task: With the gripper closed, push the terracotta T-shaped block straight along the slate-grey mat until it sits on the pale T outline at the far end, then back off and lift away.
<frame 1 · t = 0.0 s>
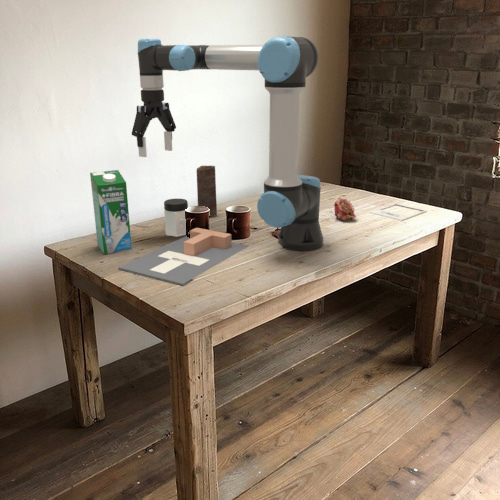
hand: (156, 153, 186), 28 cm above the table, tool pointing down, fingers open, 13 cm apart
candle: (207, 217, 212), on the table
jar: (177, 234, 192), on the table
flower: (344, 220, 208), on the table
mat: (187, 257, 171), on the table
photo frame: (398, 214, 217), on the table
milk carton: (114, 248, 179), on the table
t block: (210, 243, 181), point 1 cm above the table, touching mat
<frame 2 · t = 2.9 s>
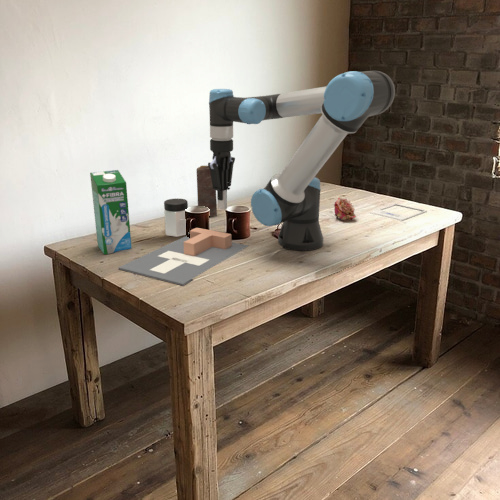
hand: (222, 208, 184), 11 cm above the table, tool pointing down, fingers closed
nothing on the table moved.
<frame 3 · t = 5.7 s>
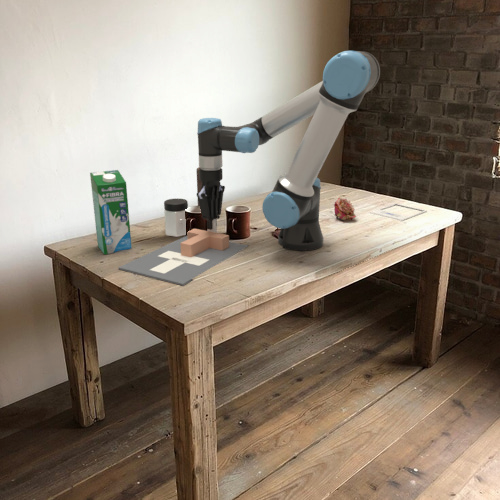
hand: (212, 237, 182), 2 cm above the table, tool pointing down, fingers closed
t block: (208, 244, 180), point 1 cm above the table, touching mat
everything else where it was.
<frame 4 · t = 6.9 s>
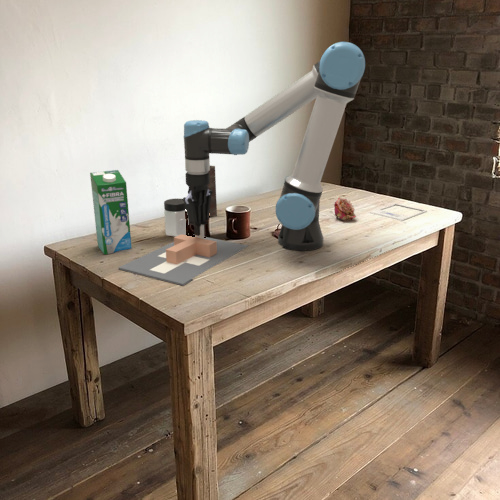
hand: (199, 243, 176), 2 cm above the table, tool pointing down, fingers closed
t block: (195, 251, 174), point 1 cm above the table, touching gripper
everything else where it was.
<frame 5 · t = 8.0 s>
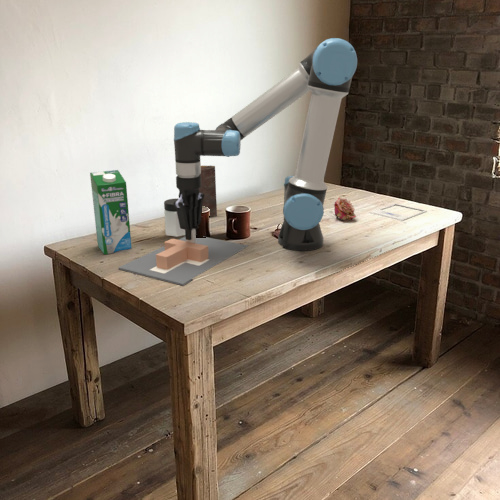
hand: (191, 248, 172), 2 cm above the table, tool pointing down, fingers closed
t block: (186, 256, 170), point 1 cm above the table, touching gripper, mat
everything else where it was.
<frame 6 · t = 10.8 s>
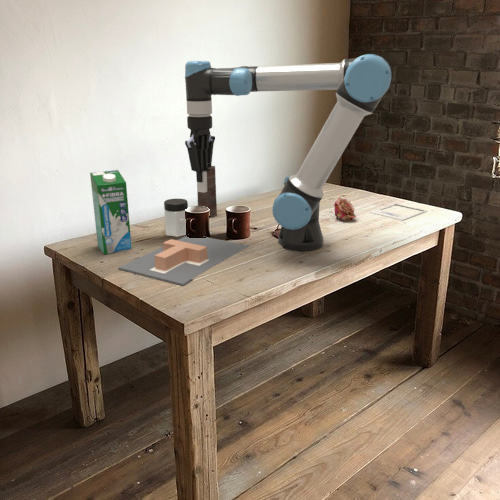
hand: (202, 191, 171), 19 cm above the table, tool pointing down, fingers closed
t block: (185, 256, 170), point 1 cm above the table, touching mat
everything else where it was.
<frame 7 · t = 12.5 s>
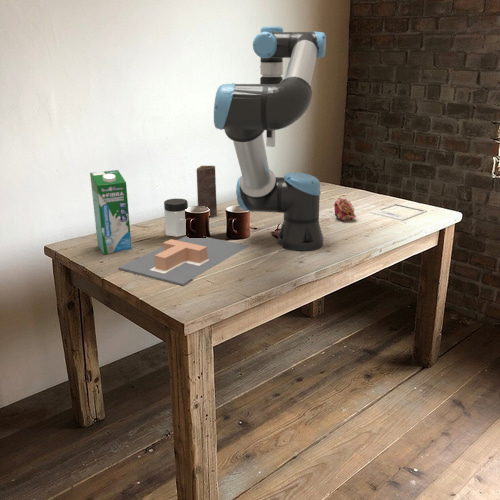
hand: (270, 146, 191), 29 cm above the table, tool pointing down, fingers closed
nothing on the table moved.
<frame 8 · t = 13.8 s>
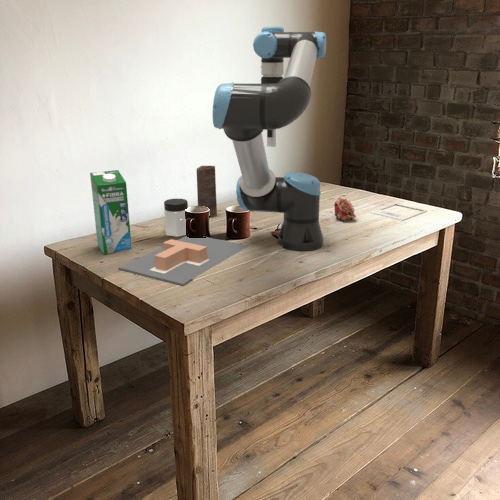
hand: (271, 146, 191), 29 cm above the table, tool pointing down, fingers closed
nothing on the table moved.
at the end: t block 1.1 cm from the target spot on the mat, point 0.6 cm above the mat's base; t block tilted 0° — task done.
